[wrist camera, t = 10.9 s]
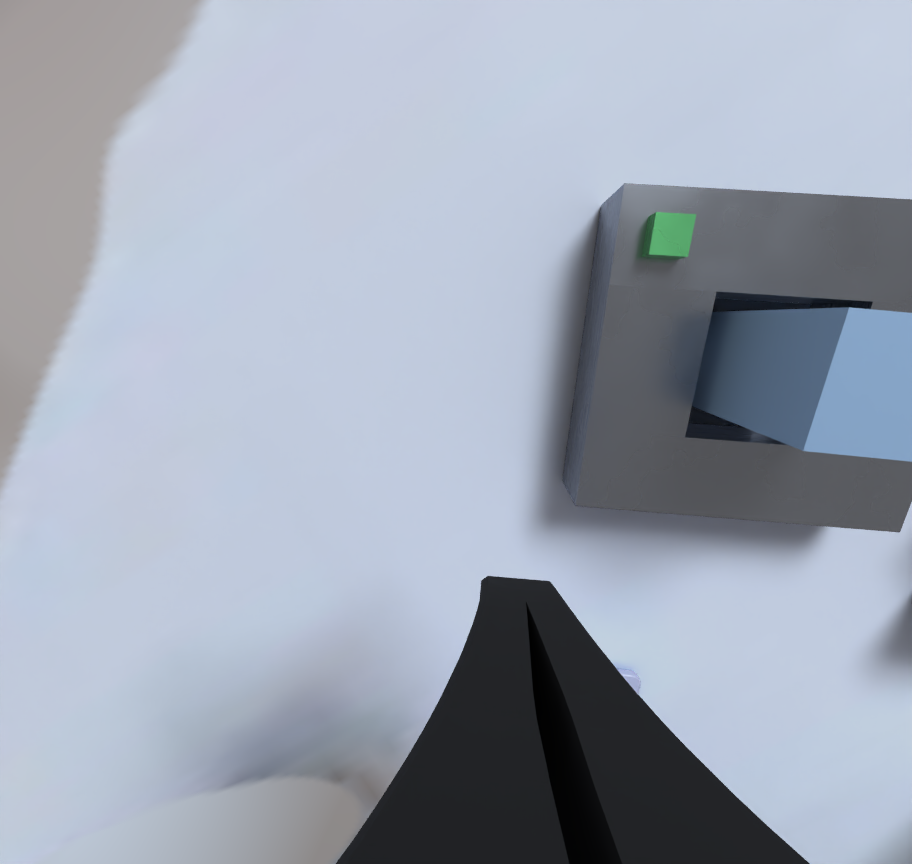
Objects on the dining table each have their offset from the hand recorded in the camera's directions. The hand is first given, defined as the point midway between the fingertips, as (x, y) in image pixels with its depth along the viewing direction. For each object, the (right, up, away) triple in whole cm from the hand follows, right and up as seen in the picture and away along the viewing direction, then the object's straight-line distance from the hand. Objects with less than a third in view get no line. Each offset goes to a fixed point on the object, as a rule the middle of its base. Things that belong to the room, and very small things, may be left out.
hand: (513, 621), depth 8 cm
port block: (+10, +6, +9) cm, 15 cm away
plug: (+10, +7, +9) cm, 15 cm away
